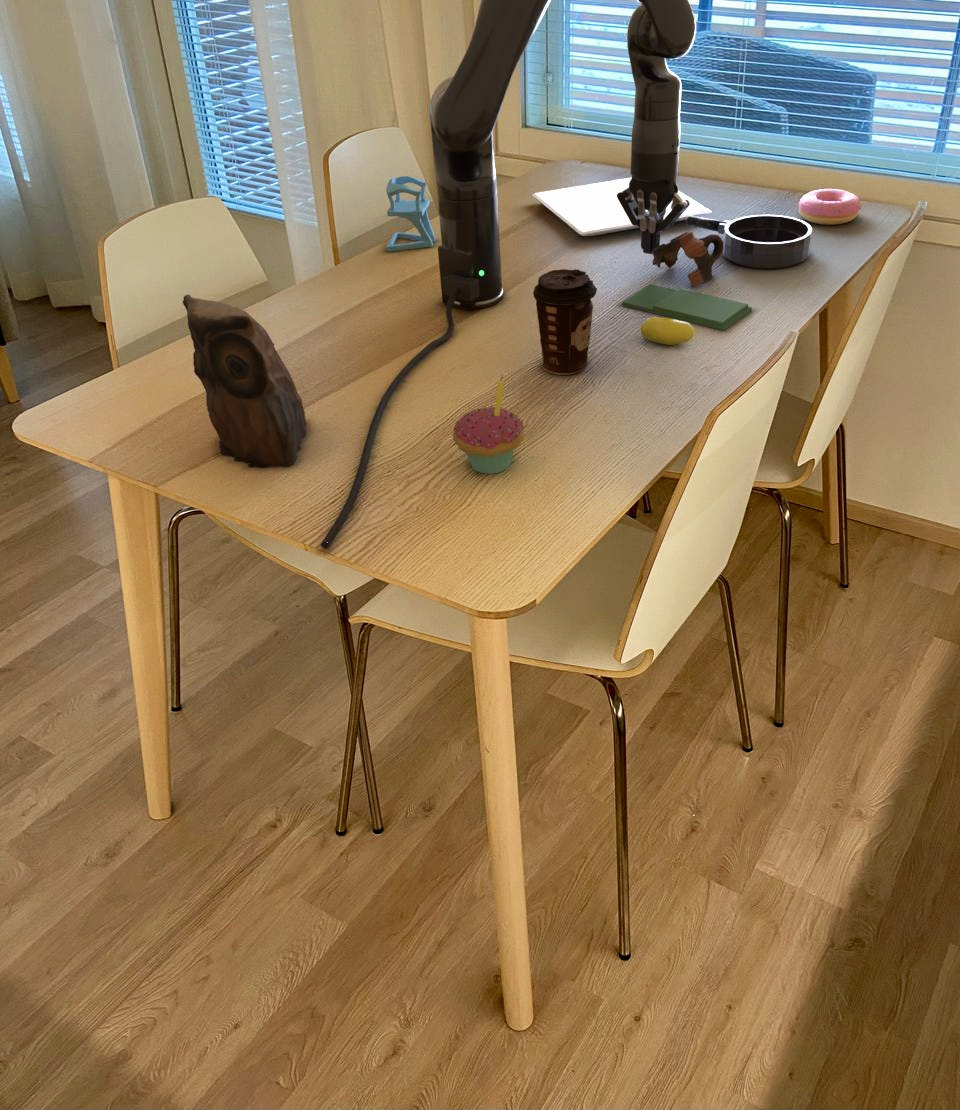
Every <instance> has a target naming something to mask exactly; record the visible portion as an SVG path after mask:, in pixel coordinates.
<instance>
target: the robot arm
mask: <svg viewBox="0 0 960 1110" xmlns="http://www.w3.org/2000/svg"><path fill="white" fill-rule="evenodd" d="M551 1H552V0H480V2H479V7H478V10H477V15H476V19H475V22H474V23H475V24H474V28H473V31H472V35H471V38H470V41H469V44H468V46H467V49H466V50H465V52H464V55H463V57H462V59H461V61H460V62H459V65H458V67H457V68H456V71H455V73H454V74H453V75H452V76H449V77H447V78H445V79H443V80H442V81H441V82H440V83H439V84H438V85H437V86H436V87H435V89H434V91H433V93H432V94H431V98H430V102H429V121H430V122H429V124H430V135H431V146H432V155H433V168H434V175H435V182H436V184H435V185H436V193H437V203H438V204H437V205H438V216H439V227H440V228H439V229H440V238H441V239H440V240H441V244H439V245H438V246H437V257H438V266H439V267H438V268H439V279H440V288H441V289H440V290H441V291H440V292H441V300H442V304H444V305H446V308H445V315H446V320H447V330H446V332H445V333H444V334H443V335H442V336H441V337H439V338H436V339H435V340H433V341H431V342H429V344H427V345H426V346H425V347H424V348H422V349H421V350H420V352H418V353H417V354H416V355H415V356H413V358H412V359H411V360H409V362H407V364H406V365H404V367H403V368H402V369H401V370H400V372H399V373H398V374H397V375H396V376H395V377H394V379H393V380H392V382H391V383H390V384H389V386H388V388H387V389H386V390H385V392H384V394H383V396H382V398H381V399H380V401H379V403H378V405H377V408H376V410H375V412H374V415H373V417H372V419H371V422H370V425H369V429H368V432H367V435H366V439H365V443H364V446H363V449H362V453H361V456H360V460H359V464H358V467H357V470H356V474H355V477H354V480H353V483H352V486H351V488H350V491H349V494H348V496H347V498H346V501H345V503H344V505H343V507H342V509H341V511H340V513H339V514H338V516H337V518H336V519H335V520H334V523H333V524H332V526H331V527H330V529H329V530H328V532H327V533H326V535H325V537H323V540H322V541H321V543H320V545H321V548H323V549H325V550H327V549H329V548H330V546H331V544H332V542H333V541H334V540H335V538H336V536H337V535H338V533H339V532H340V530H341V528H342V527H343V525H344V523H345V522H346V520H347V518H348V517H349V515H350V513H351V511H352V509H353V507H354V504H355V503H356V500H357V498H358V496H359V492H360V490H361V486H362V483H363V481H364V478H365V474H366V470H367V467H368V464H369V460H370V455H371V451H372V448H373V445H374V441H375V437H376V433H377V430H378V426H379V424H380V421H381V419H382V416H383V413H384V411H385V408H386V406H387V404H388V402H389V400H390V399H391V397H392V395H393V394H394V392H395V390H396V389H397V387H398V386H399V385H400V383H401V382H402V381H403V380H404V378H405V377H406V376H407V375H408V374H409V372H410V371H412V370H413V368H414V367H416V366H417V365H418V363H419V362H421V361H422V360H423V359H424V358H425V357H426V356H427V355H428V354H430V353H431V352H432V351H433V350H434V349H436V348H437V347H439V346H441V345H443V344H444V343H446V342H447V341H449V340H450V338H451V337H452V336H453V333H454V330H455V321H454V315H453V309H454V307H455V308H459V309H462V310H466V311H469V312H472V311H474V310H477V309H482V308H487V307H490V306H493V305H496V304H498V303H499V302H501V301H502V299H503V298H504V289H503V280H502V279H503V278H502V262H501V261H502V260H501V259H502V258H501V241H500V218H499V202H498V177H497V169H496V161H495V153H494V141H493V140H494V139H493V133H494V130H495V126H496V124H497V122H498V121H497V120H498V118H499V115H500V112H501V109H502V106H503V103H504V100H505V97H506V96H507V95H506V94H507V92H508V89H509V86H510V83H511V81H512V78H513V75H514V73H515V71H516V69H517V66H518V64H519V62H520V60H521V58H522V56H523V54H524V53H525V51H526V49H527V47H528V45H530V42H531V40H532V38H533V37H534V34H535V33H536V30H537V29H538V26H539V24H540V22H541V21H542V18H543V17H544V15H545V12H546V11H547V9H548V7H549V5H550V3H551ZM636 1H637V2H638V3H640V5H638V6H637V7H636V8H635V9H634V11H633V12H632V14H631V16H630V18H629V20H628V26H627V29H626V45H627V52H628V59H629V64H630V69H631V74H632V80H633V82H634V88H635V89H634V90H635V91H634V112H633V113H634V114H633V123H632V127H631V144H630V145H631V146H630V147H631V148H630V149H631V150H630V178H631V177H632V178H631V180H630V182H629V187H628V188H627V189H625V190H623V191H621V192H619V193H618V194H617V198H618V200H619V202H620V204H621V206H622V207H623V209H624V211H625V213H626V215H627V216H628V218H629V220H630V222H631V224H632V225H634V226H635V225H637V226H638V227H640V228H639V229H640V231H641V232H640V249H641V250H642V253H643V254H647V255H653V254H652V253H651V251H652V250H654V249H655V248H656V247H658V246H660V245H661V232H663V231H666V230H667V229H670V228H671V227H672V226H674V224H675V223H676V222H677V221H676V220H677V219H678V218H679V217H680V216H681V215H682V213H683V212H684V211H685V210H686V209H687V208H688V206H689V205H690V203H689V201H688V200H683V199H682V198H681V197H680V195H679V194H678V191H679V187H678V184H677V178H678V174H679V157H680V146H681V115H680V114H681V102H682V101H681V100H682V81H681V79H680V77H679V76H678V75H677V74H676V73H674V72H673V71H671V70H670V69H669V67H668V64H667V60H677V59H681V58H682V57H684V56H686V54H688V53H689V51H690V50H691V49H692V47H693V44H694V41H695V38H696V26H697V25H696V19H695V14H694V11H693V8H692V6H691V2H690V1H689V0H636ZM671 201H672V204H671V209H672V210H671V212H670V213H669V214H668V215H667V216H666V217H665V219H664V215H665V214H666V208H667V207H668V205H669V204H670V203H671ZM663 219H664V220H663ZM675 221H676V222H675ZM327 542H328V543H327Z"/></svg>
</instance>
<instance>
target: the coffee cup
mask: <svg viewBox="0 0 960 1110" xmlns="http://www.w3.org/2000/svg"><path fill="white" fill-rule="evenodd" d="M597 291H598V288H597V287H596V285H595V284H594V280H593V279H592V280H591V278H590V276H589V274H587V272H586V271H583V270H580V269H565V268H563V269H562V268H561V269H553V270H549V271H547V272H546V273H543V274H542V275H540V276H539V277H538V279H537V284H536V285H535V286H534V289H533V292H532V295H533V298H534V300H535V306H536V314H537V315H536V316H537V322H538V332H539V343H540V348H541V356H542V369H543V370H544V371H545V372H547V373H550V374H553V375H558V376H559V375H560V376H561V375H562V376H568V375H573V374H577V373H581V372H582V371H583V370H585V369H586V367H587V366H588V358H589V357H588V355H589V354H588V353H589V347H590V343H591V342H590V341H591V334H592V322H593V312H594V304H593V302H592V299H593V298H594V297H595V296H596V294H597Z"/></svg>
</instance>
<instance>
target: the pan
mask: <svg viewBox="0 0 960 1110" xmlns="http://www.w3.org/2000/svg"><path fill="white" fill-rule="evenodd" d="M730 221H731V222H729V223H728V224H727V225H726V226H725V228H724V234H723V238H722V240H723V242H724V244H723V245H724V248H723V252H722V254H723V255H724V256H723V257H725V258H726V259H728V260H729V261H731V262H732V263H734V264H736V265H739V266H742V267H746V268H751V269H759V270H774V269H776V270H777V269H784V268H788V267H792V266H795V265H798V264H799V263H802V262H803V261H805V260H807V259H808V257H809V255H810V251H811V246H812V245H811V244H812V237H813V228H812V226H811V224H809V223H808V222H806V221H804V220H802V219H798V218H796V217H792V216H787V215H779V214H777V215H776V214H753V215H747V216H741V217H738V218H735V219H733V220H730Z"/></svg>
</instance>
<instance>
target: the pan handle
mask: <svg viewBox="0 0 960 1110" xmlns="http://www.w3.org/2000/svg"><path fill="white" fill-rule="evenodd" d="M731 221H732V220H717V219H712V218H707V217H703V216H700V217H696V216H689V217H688V218H687V219H686V220H685V224H686V225H687V226H688V227H692V228H696V229H702V230H708V231H712V232H717V234H720V235H724V228H725V226H726V225H727V224H728V223H729V222H731Z"/></svg>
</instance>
